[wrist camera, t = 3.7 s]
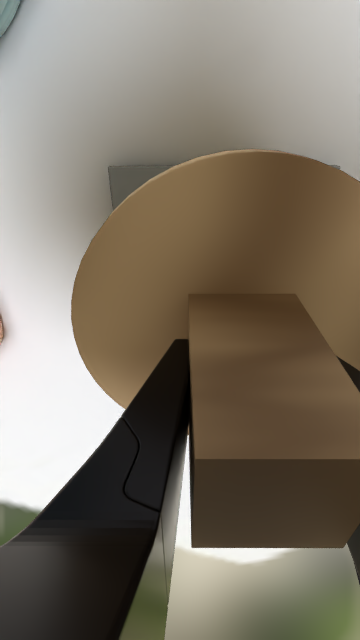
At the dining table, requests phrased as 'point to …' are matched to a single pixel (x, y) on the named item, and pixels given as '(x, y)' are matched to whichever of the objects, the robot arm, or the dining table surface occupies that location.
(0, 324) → the small bowl
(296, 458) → the lid
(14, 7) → the bowl
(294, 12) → the dining table surface
